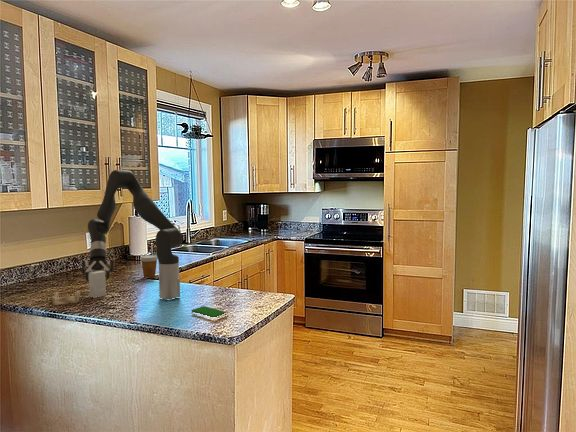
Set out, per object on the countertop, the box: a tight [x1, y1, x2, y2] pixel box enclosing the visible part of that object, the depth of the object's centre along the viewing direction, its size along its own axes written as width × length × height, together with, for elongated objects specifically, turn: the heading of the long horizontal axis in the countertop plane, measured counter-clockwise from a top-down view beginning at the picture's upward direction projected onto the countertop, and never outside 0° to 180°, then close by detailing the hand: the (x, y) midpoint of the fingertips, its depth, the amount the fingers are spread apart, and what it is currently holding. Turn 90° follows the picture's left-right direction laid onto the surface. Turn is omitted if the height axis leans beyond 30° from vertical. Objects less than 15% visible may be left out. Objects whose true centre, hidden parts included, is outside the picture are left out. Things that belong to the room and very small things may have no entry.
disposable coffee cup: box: [139, 254, 158, 279], centre depth 236 cm, size 10×10×12 cm
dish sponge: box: [191, 305, 227, 317], centre depth 172 cm, size 7×14×2 cm, turn 54°
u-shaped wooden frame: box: [51, 289, 81, 306], centre depth 191 cm, size 10×11×3 cm
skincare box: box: [88, 270, 107, 299], centre depth 197 cm, size 6×4×12 cm
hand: (97, 279), depth 198 cm, fingers open, 8 cm apart
